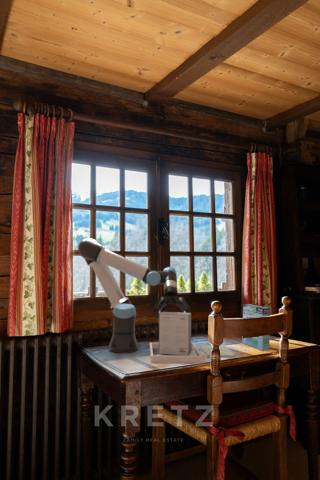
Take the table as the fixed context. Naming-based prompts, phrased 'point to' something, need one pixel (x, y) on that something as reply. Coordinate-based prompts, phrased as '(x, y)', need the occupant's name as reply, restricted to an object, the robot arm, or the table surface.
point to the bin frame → (175, 358)
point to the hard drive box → (175, 333)
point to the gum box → (256, 311)
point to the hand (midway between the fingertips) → (172, 322)
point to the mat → (224, 350)
